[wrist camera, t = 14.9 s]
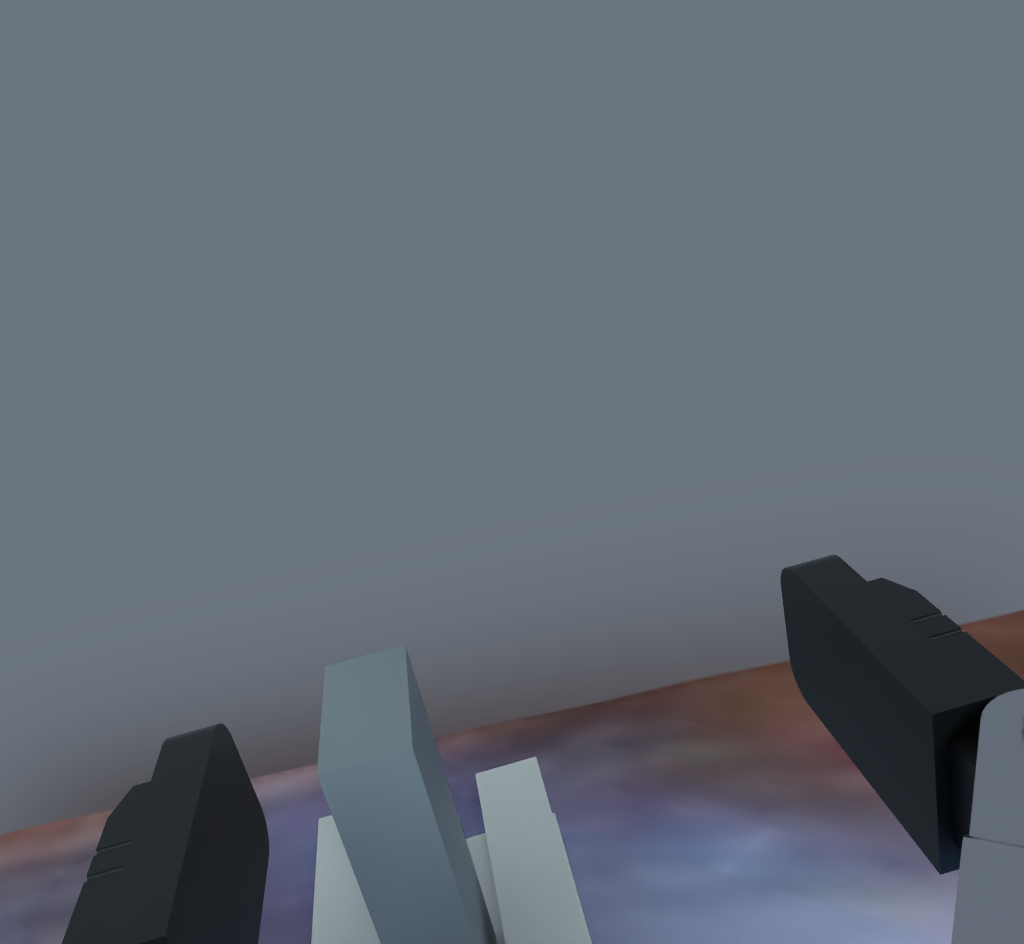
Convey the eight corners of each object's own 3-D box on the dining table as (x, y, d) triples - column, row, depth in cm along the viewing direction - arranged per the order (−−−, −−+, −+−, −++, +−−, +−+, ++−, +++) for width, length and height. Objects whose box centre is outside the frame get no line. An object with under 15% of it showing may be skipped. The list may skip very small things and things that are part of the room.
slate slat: (495, 935, 39) (405, 644, 33) (516, 1069, 34) (412, 748, 28) (427, 955, 39) (325, 666, 33) (437, 1092, 33) (316, 774, 28)
